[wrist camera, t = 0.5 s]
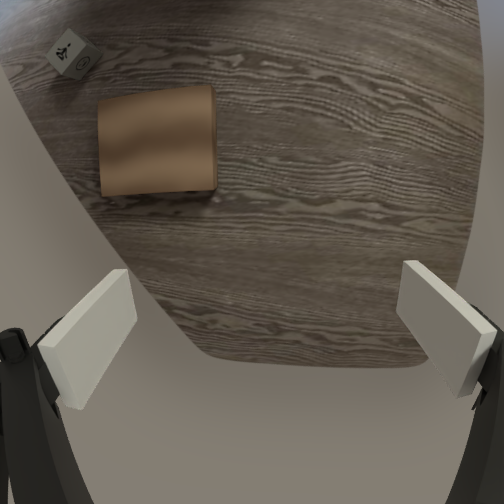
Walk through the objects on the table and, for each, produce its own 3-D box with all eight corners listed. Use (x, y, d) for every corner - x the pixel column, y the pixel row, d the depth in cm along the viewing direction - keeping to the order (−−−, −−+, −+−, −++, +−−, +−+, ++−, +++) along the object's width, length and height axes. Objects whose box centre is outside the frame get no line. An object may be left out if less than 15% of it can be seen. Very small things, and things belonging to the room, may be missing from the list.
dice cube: (63, 63, 33) (44, 56, 28) (85, 37, 31) (68, 27, 27) (80, 80, 34) (61, 74, 29) (103, 53, 32) (86, 44, 28)
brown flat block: (111, 104, 35) (97, 100, 31) (215, 91, 34) (211, 84, 31) (115, 192, 38) (101, 196, 35) (218, 186, 38) (213, 190, 34)
